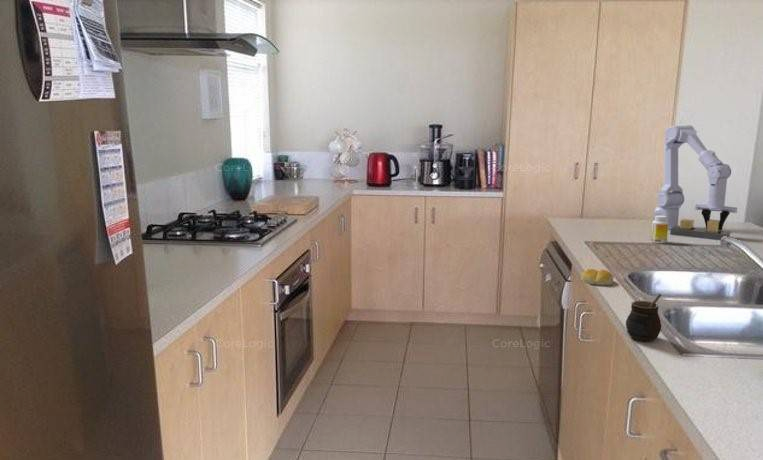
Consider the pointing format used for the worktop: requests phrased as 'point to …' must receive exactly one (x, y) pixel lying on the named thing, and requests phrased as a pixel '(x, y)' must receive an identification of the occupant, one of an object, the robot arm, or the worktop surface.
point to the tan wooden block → (713, 226)
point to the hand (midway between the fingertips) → (713, 229)
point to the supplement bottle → (659, 230)
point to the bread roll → (597, 277)
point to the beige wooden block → (686, 224)
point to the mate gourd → (644, 320)
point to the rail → (699, 233)
